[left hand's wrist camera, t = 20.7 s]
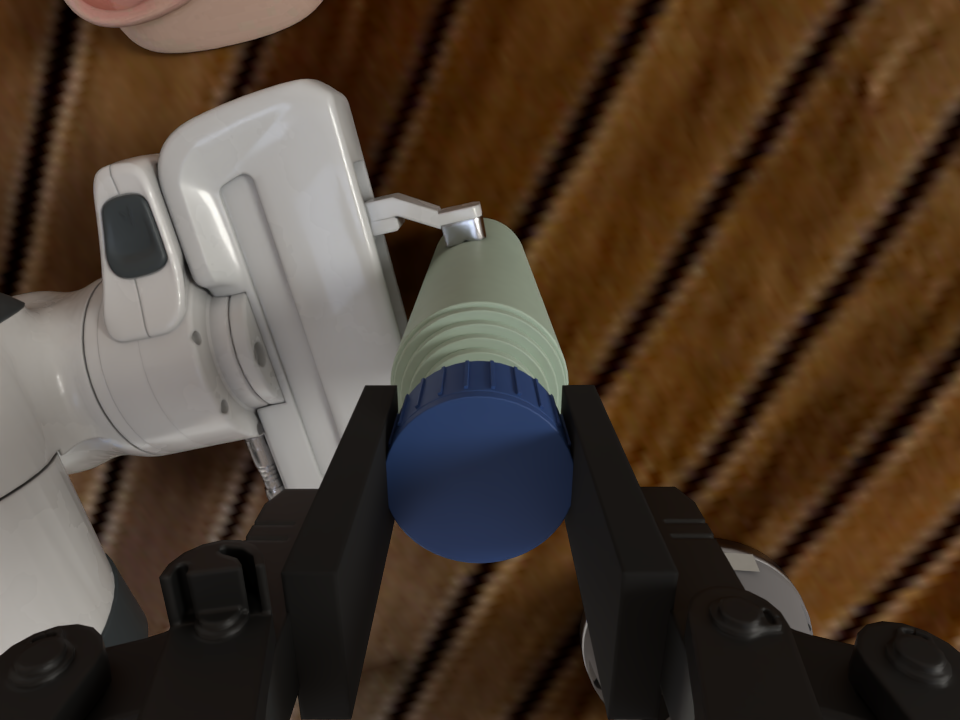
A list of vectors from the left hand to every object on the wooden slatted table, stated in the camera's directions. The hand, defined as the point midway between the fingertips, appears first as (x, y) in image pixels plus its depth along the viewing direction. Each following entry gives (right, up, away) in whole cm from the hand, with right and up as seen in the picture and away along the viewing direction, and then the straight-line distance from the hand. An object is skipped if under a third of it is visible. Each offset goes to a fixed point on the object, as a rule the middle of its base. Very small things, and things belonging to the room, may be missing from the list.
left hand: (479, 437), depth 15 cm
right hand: (+1, +5, +13) cm, 14 cm away
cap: (0, -1, -2) cm, 2 cm away
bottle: (0, +7, +19) cm, 21 cm away
